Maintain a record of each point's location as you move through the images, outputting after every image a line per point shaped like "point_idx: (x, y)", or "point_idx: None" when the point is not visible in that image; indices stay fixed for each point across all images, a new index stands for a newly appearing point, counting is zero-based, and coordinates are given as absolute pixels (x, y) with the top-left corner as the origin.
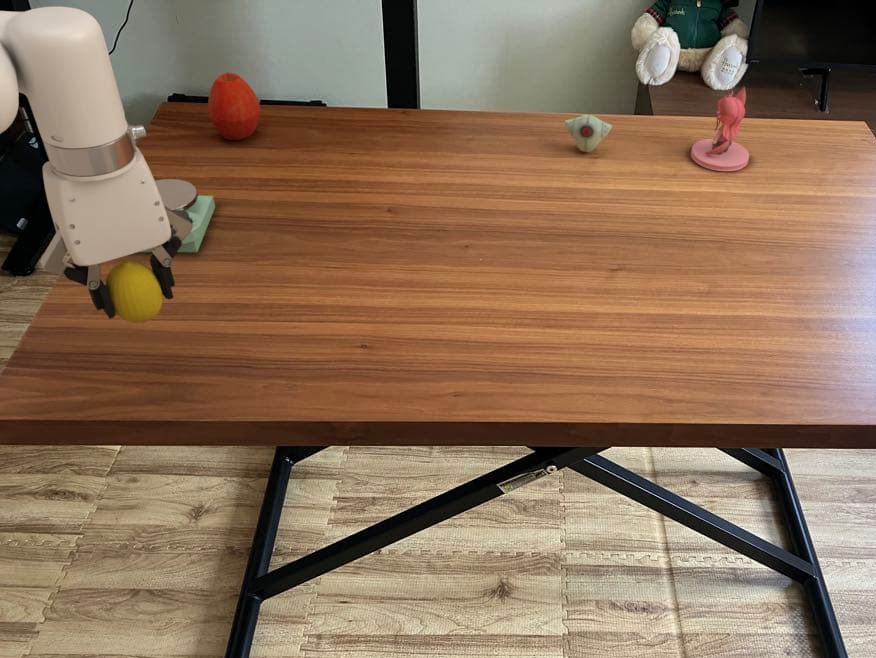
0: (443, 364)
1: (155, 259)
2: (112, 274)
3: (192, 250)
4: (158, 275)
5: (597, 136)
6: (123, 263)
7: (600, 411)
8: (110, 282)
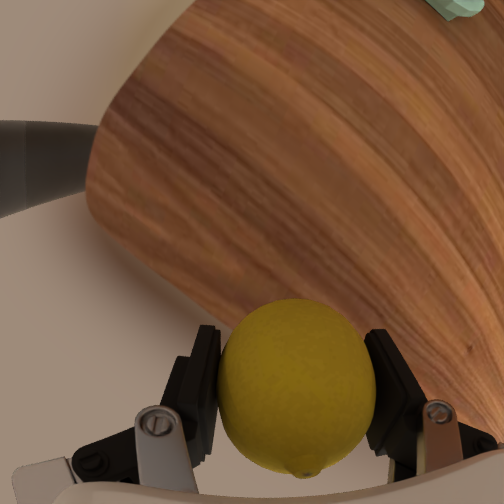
0: (474, 395)
1: (396, 448)
2: (247, 451)
3: (444, 15)
4: (372, 420)
5: None
6: (298, 475)
7: None
8: (231, 440)
